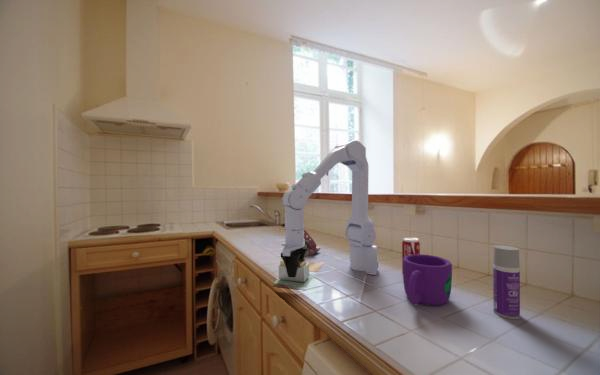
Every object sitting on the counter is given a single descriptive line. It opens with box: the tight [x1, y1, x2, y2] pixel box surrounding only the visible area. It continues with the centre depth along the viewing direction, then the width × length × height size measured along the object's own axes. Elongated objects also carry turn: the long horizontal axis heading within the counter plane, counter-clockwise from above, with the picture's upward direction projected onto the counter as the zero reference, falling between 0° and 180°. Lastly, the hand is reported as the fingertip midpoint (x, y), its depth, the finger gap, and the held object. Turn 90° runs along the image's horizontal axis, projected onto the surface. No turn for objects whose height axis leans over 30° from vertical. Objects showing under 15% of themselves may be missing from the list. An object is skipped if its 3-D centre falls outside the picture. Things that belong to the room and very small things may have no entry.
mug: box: [402, 253, 453, 307], centre depth 64 cm, size 17×11×10 cm, turn 138°
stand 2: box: [307, 261, 325, 273], centre depth 90 cm, size 10×10×1 cm
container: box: [492, 244, 521, 320], centre depth 58 cm, size 5×5×15 cm
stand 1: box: [273, 274, 316, 291], centre depth 78 cm, size 10×10×1 cm
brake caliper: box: [304, 228, 322, 257], centre depth 108 cm, size 11×11×12 cm
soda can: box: [401, 237, 421, 275], centre depth 82 cm, size 5×5×12 cm
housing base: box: [278, 263, 310, 282], centre depth 78 cm, size 5×8×4 cm, turn 71°
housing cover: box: [279, 258, 308, 267], centre depth 78 cm, size 4×7×1 cm, turn 68°
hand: (294, 273), depth 78 cm, fingers closed on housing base, 5 cm apart
